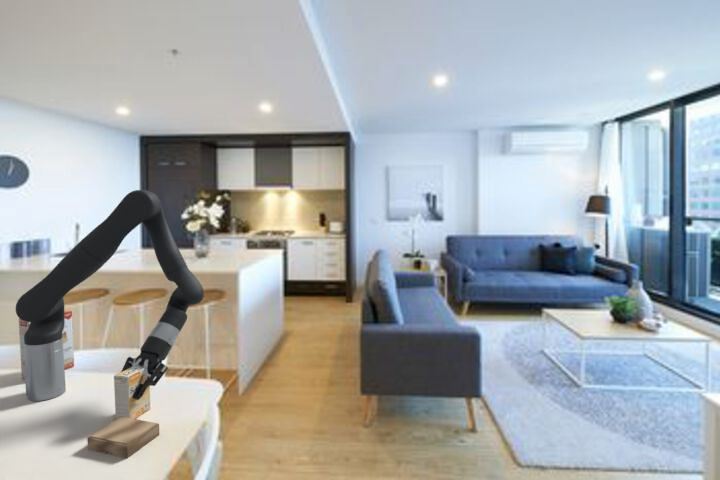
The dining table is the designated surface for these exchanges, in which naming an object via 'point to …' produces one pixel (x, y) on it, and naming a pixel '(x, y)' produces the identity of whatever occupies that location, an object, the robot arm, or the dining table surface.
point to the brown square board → (123, 436)
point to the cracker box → (66, 336)
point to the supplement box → (130, 393)
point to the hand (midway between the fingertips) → (127, 396)
